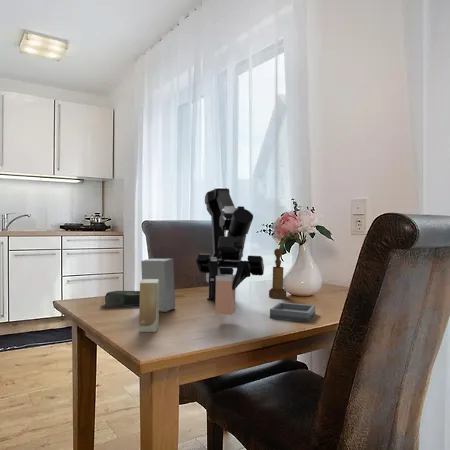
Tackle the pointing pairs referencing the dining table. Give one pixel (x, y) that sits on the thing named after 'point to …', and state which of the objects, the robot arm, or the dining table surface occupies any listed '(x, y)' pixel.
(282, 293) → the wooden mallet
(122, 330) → the dining table surface
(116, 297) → the black stapler
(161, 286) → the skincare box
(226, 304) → the grey-topped peach block
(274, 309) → the tray
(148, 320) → the skincare box
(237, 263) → the robot arm
